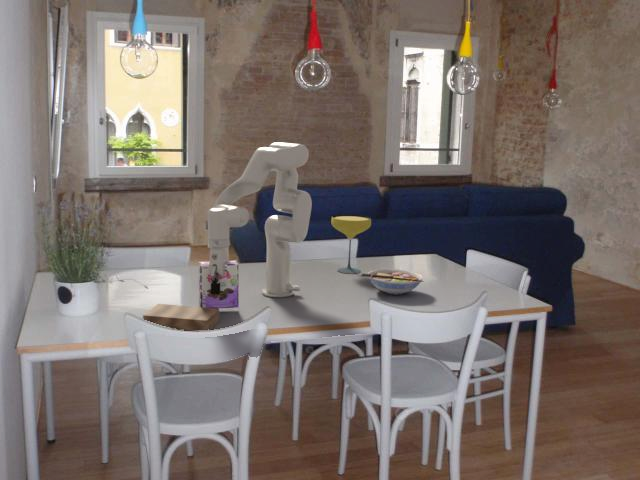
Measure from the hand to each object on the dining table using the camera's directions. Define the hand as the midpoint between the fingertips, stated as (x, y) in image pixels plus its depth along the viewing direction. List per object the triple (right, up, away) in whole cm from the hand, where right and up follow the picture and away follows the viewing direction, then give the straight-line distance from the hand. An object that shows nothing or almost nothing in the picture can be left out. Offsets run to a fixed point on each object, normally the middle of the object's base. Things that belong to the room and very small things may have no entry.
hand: (218, 290), depth 255 cm
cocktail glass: (+50, +4, +71) cm, 87 cm away
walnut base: (-11, -10, -13) cm, 20 cm away
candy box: (0, -6, +1) cm, 6 cm away
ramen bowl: (+67, -4, +37) cm, 77 cm away
